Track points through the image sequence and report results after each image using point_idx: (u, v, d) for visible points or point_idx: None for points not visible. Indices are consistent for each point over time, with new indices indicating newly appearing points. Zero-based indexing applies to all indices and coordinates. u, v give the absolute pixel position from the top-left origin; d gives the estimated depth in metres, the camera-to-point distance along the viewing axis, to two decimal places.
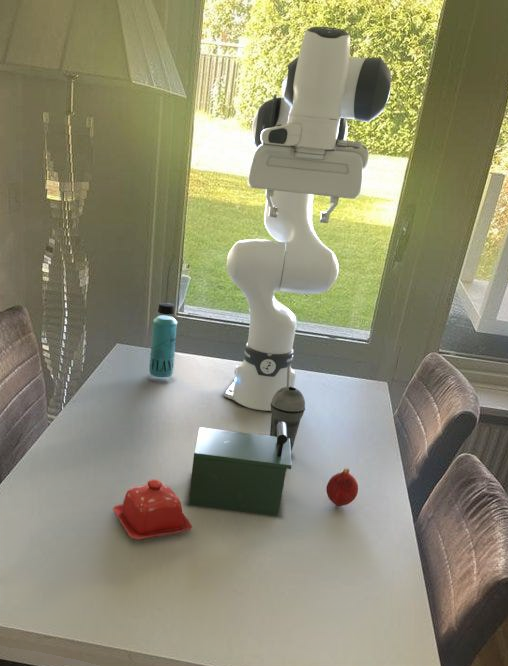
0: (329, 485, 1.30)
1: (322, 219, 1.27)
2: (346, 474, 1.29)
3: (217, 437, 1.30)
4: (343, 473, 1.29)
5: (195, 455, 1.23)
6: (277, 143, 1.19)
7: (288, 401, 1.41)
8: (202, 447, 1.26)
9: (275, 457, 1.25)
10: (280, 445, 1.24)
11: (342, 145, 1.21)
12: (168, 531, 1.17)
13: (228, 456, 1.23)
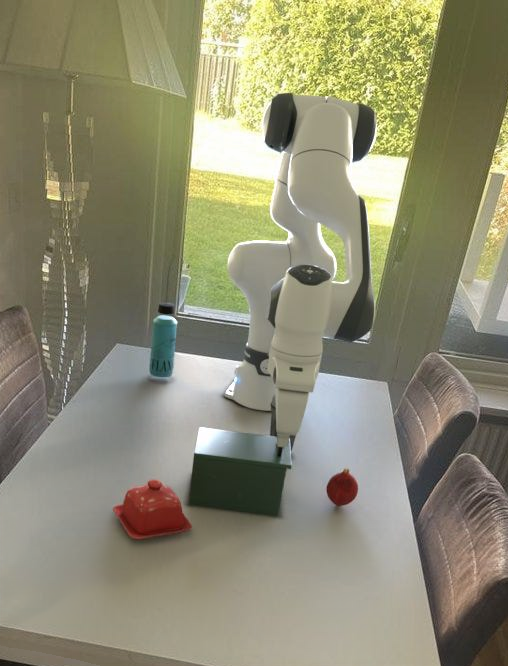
0: (329, 485, 1.30)
1: None
2: (346, 474, 1.29)
3: (217, 437, 1.30)
4: (343, 473, 1.29)
5: (195, 455, 1.23)
6: None
7: None
8: (202, 447, 1.26)
9: (275, 457, 1.25)
10: None
11: None
12: (168, 531, 1.17)
13: (228, 456, 1.23)
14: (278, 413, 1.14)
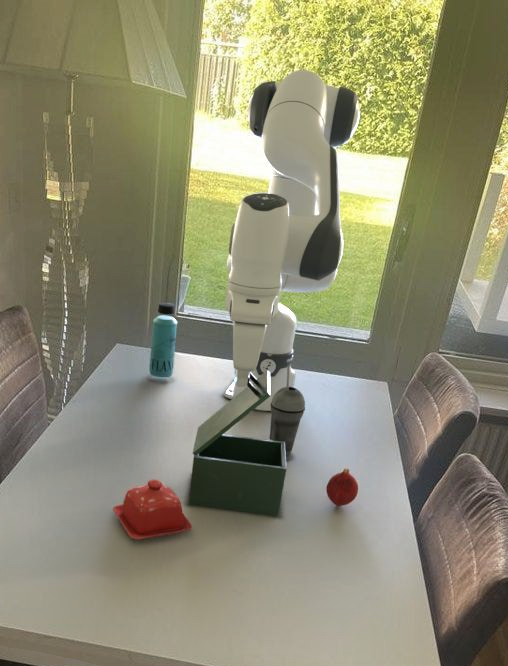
0: (329, 485, 1.30)
1: None
2: (346, 474, 1.29)
3: (211, 423, 1.29)
4: (343, 473, 1.29)
5: (195, 454, 1.23)
6: None
7: (288, 401, 1.41)
8: (199, 442, 1.25)
9: (254, 398, 1.20)
10: (248, 385, 1.19)
11: None
12: (168, 531, 1.17)
13: (218, 431, 1.21)
14: (234, 347, 1.09)
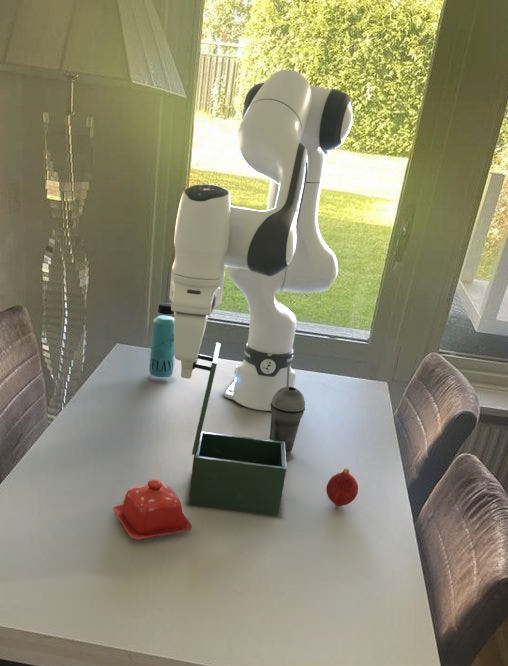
0: (329, 485, 1.30)
1: None
2: (346, 474, 1.29)
3: None
4: (343, 473, 1.29)
5: (194, 453, 1.23)
6: (212, 311, 1.11)
7: (288, 401, 1.41)
8: (194, 441, 1.25)
9: None
10: (197, 367, 1.19)
11: None
12: (168, 531, 1.17)
13: None
14: (175, 337, 1.10)
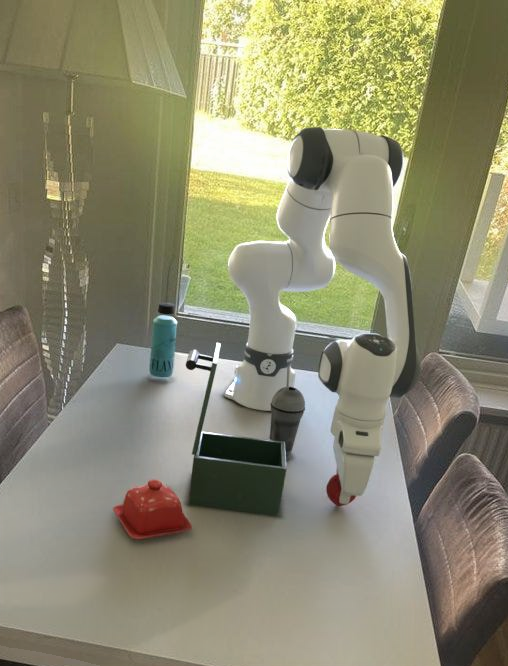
0: (329, 485, 1.30)
1: None
2: None
3: None
4: None
5: (194, 453, 1.23)
6: None
7: (288, 401, 1.41)
8: None
9: None
10: (198, 367, 1.19)
11: None
12: (168, 531, 1.17)
13: None
14: (345, 476, 1.19)
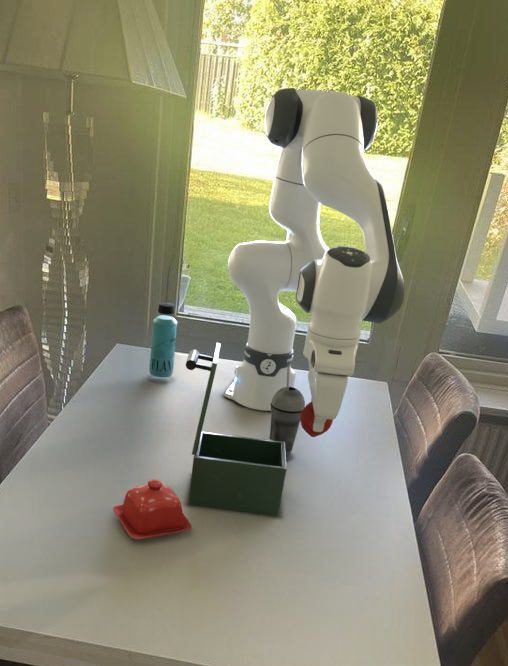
0: (303, 413, 1.24)
1: None
2: None
3: None
4: None
5: (194, 453, 1.23)
6: None
7: (288, 401, 1.41)
8: None
9: None
10: (198, 367, 1.19)
11: None
12: (168, 531, 1.17)
13: None
14: (317, 397, 1.13)
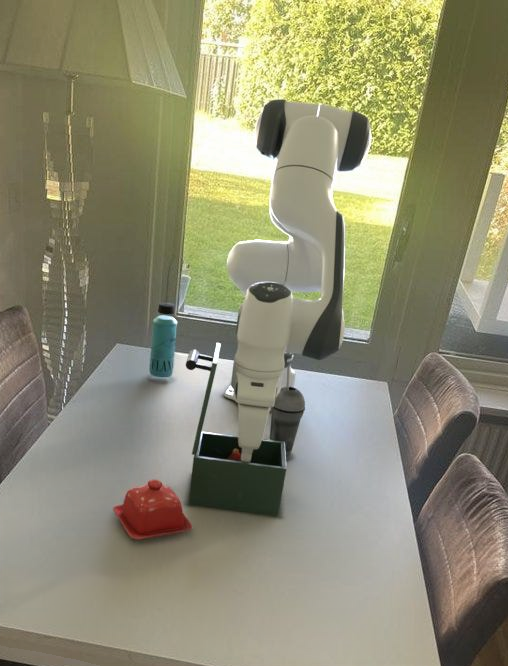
0: None
1: None
2: (235, 453, 1.30)
3: None
4: (232, 453, 1.30)
5: (194, 453, 1.23)
6: None
7: (288, 401, 1.41)
8: None
9: None
10: (198, 367, 1.19)
11: None
12: (168, 531, 1.17)
13: None
14: (239, 428, 1.16)
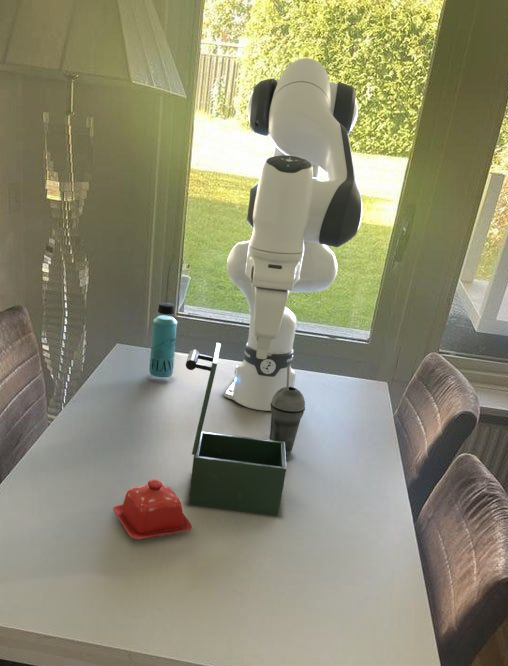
0: None
1: None
2: None
3: None
4: None
5: (194, 453, 1.23)
6: None
7: (288, 401, 1.41)
8: None
9: None
10: (198, 367, 1.19)
11: None
12: (168, 531, 1.17)
13: None
14: (256, 313, 1.07)
